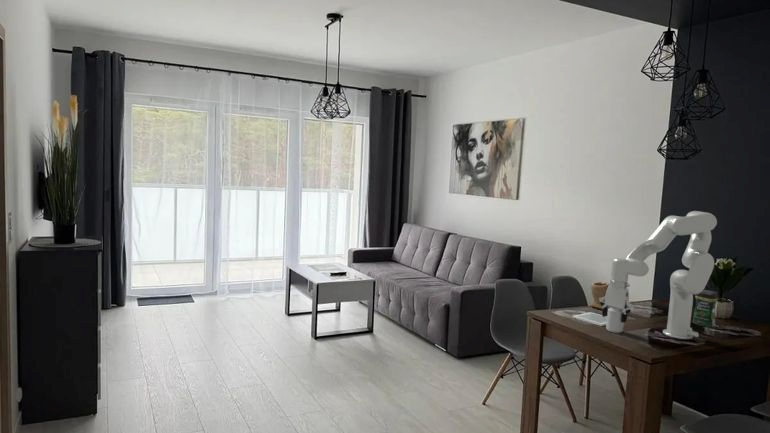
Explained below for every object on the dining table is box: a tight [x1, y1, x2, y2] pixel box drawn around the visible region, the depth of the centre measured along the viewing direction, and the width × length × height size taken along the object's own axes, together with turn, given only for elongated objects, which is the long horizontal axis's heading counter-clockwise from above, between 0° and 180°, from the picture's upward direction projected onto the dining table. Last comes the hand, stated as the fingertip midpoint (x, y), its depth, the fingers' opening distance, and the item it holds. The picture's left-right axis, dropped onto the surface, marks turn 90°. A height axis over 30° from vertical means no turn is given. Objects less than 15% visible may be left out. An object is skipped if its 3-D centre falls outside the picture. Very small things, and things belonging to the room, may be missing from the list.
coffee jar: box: [691, 288, 719, 328], centre depth 275 cm, size 10×8×19 cm
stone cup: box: [589, 281, 610, 310], centre depth 298 cm, size 15×12×15 cm
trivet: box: [572, 311, 607, 327], centre depth 275 cm, size 16×16×1 cm
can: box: [605, 307, 625, 334], centre depth 256 cm, size 8×8×12 cm
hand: (614, 319), depth 256 cm, fingers open, 9 cm apart
